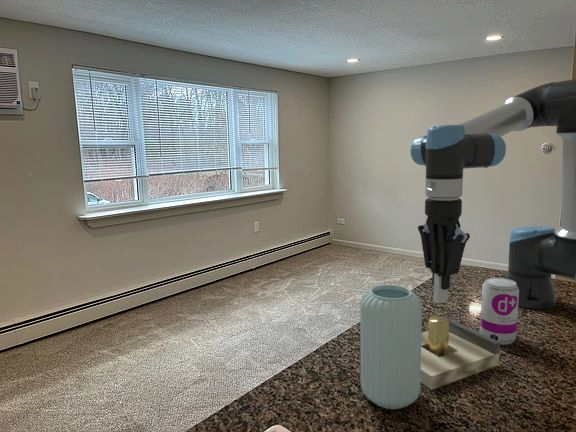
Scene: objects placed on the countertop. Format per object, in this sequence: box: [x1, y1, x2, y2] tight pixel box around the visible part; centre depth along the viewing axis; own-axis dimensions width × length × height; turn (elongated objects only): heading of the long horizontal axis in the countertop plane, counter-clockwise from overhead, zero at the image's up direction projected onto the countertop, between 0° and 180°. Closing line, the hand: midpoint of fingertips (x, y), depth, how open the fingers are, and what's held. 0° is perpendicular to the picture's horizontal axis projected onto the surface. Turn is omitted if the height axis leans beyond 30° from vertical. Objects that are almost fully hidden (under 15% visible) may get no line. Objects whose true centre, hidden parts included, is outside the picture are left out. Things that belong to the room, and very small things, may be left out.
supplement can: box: [479, 277, 519, 346], centre depth 106 cm, size 8×8×15 cm
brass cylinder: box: [427, 315, 449, 357], centre depth 96 cm, size 4×4×10 cm
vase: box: [359, 284, 423, 410], centre depth 82 cm, size 12×12×22 cm
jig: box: [420, 316, 501, 391], centre depth 97 cm, size 20×16×6 cm
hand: (440, 301), depth 95 cm, fingers closed
